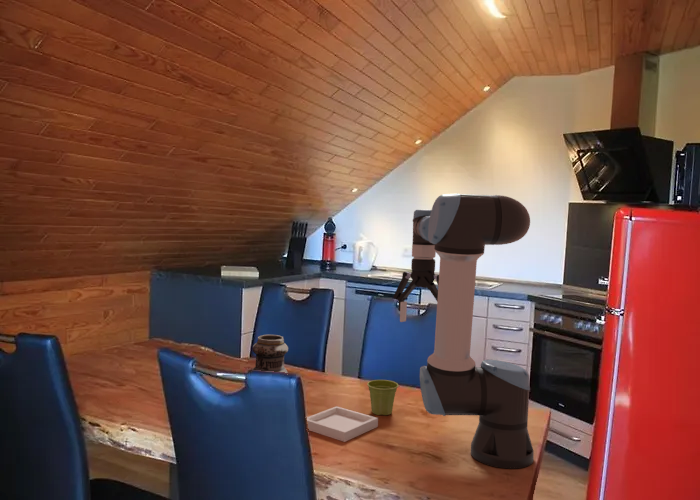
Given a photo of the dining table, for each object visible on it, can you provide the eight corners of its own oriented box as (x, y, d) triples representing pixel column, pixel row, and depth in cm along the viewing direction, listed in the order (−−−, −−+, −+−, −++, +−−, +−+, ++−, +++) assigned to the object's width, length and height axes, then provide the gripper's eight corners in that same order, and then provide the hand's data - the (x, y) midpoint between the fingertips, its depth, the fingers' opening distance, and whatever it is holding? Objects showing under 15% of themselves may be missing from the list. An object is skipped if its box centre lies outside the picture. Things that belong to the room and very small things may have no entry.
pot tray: (377, 426, 163) (378, 417, 163) (344, 441, 151) (344, 432, 151) (336, 414, 172) (336, 406, 172) (301, 427, 160) (302, 419, 160)
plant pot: (403, 412, 175) (404, 384, 175) (383, 420, 168) (384, 390, 168) (380, 405, 182) (380, 378, 181) (359, 412, 175) (360, 383, 174)
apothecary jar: (276, 397, 187) (277, 342, 186) (243, 392, 191) (244, 338, 190) (293, 387, 198) (294, 335, 197) (262, 383, 202) (263, 332, 201)
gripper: (464, 260, 181) (461, 328, 182) (397, 255, 196) (394, 317, 197) (453, 261, 175) (450, 331, 176) (384, 256, 190) (382, 320, 191)
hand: (420, 324), depth 186 cm, fingers open, 13 cm apart
